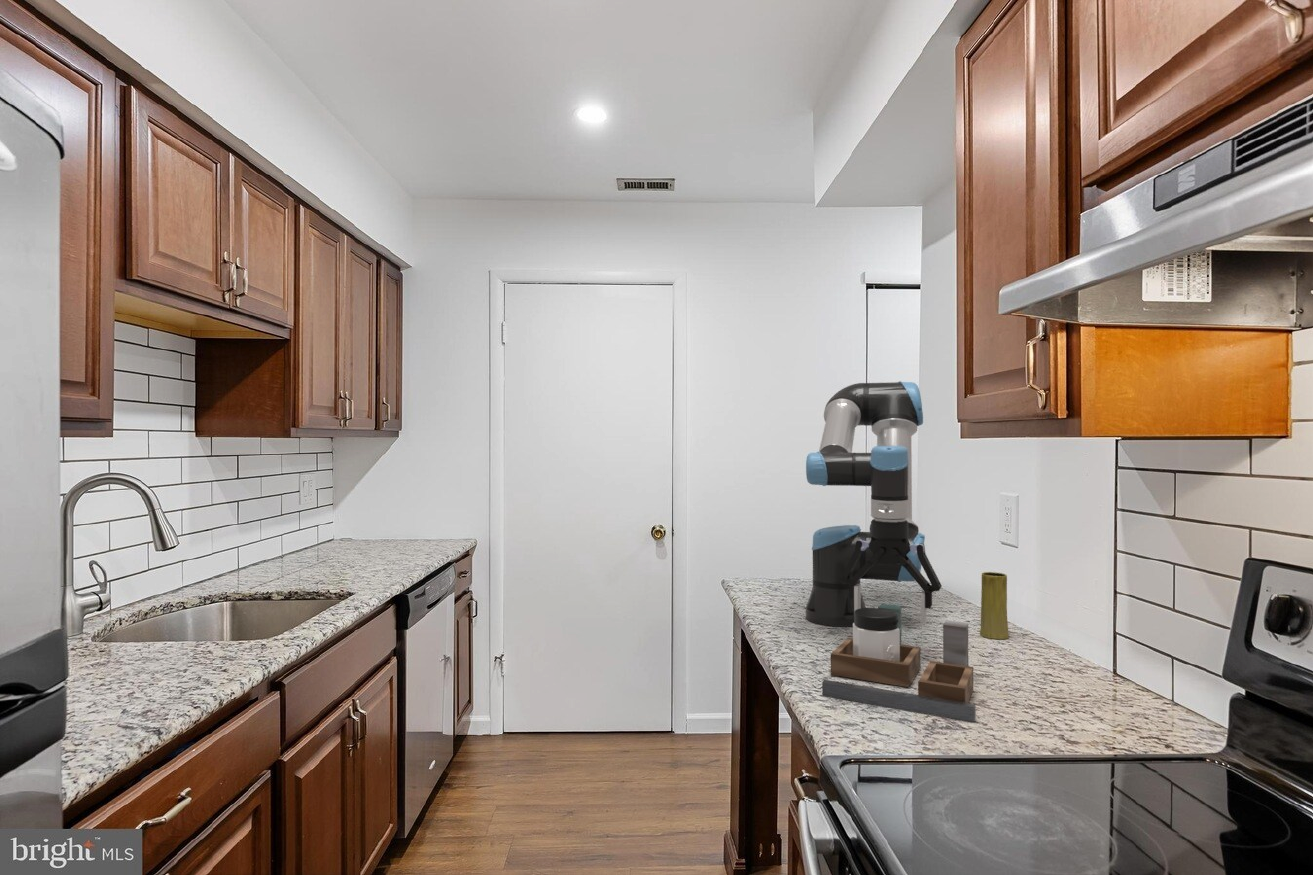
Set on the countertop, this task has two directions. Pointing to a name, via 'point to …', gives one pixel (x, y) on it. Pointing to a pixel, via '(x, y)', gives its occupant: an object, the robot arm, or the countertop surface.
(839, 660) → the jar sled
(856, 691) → the end bar
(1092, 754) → the countertop surface
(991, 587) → the vase
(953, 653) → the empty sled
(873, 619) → the jar
